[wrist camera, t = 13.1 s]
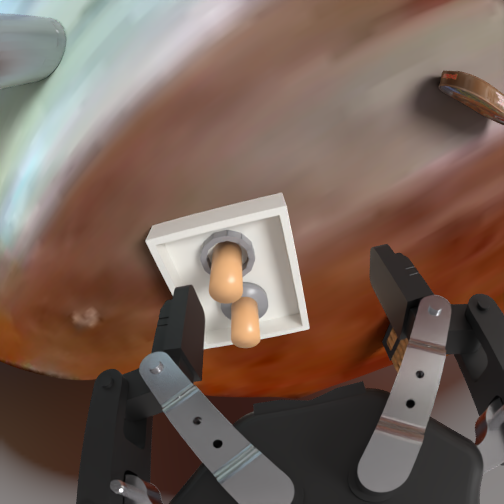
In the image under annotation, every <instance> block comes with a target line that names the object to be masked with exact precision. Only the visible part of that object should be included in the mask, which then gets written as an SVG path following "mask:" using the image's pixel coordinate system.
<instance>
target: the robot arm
mask: <svg viewBox="0 0 504 504" xmlns="http://www.w3.org/2000/svg"><path fill="white" fill-rule="evenodd" d="M65 45H66V36H65V31H64V28H63V26H62V25H61V24H60V23H59V22H58V21H57V20H55V19H52V18H45V17H37V16H29V15H18V14H1V13H0V90H1V89H5V88H9V87H13V86H17V85H22V84H27V83H32V82H37V81H40V80H43V79H44V78H46V77H48V76H49V75H50V74H51V73H52V72H53V71H54V70H55V68H56V67H57V66H58V64H59V62H60V61H61V59H62V56H63V54H64V50H65ZM370 281H371V285H372V287H373V289H374V291H375V293H376V295H377V297H378V299H379V301H380V303H381V305H382V307H383V309H384V311H385V313H386V315H387V317H388V319H389V321H390V323H391V325H392V327H393V329H394V331H395V333H396V335H397V337H398V340H399V341H400V340H403V339H406V338H407V339H408V341H409V342H408V345H407V348H406V351H405V354H404V357H403V360H402V363H401V366H400V369H399V372H398V375H397V377H396V380H395V383H394V385H393V388H392V391H391V393H389V392H387V391H384V390H380V389H372V388H365V387H364V383H363V382H359V383H355V384H351V385H347V386H343V387H339V388H336V389H334V390H332V391H330V392H328V393H325V394H324V395H321V396H319V397H317V398H315V399H313V400H309V401H300V400H298V401H297V400H277V401H270V402H263V403H257V404H253V405H254V411H253V412H251V413H249V414H247V415H245V416H243V417H241V418H240V419H238V421H236V422H235V423H234V424H233V425H232V424H231V423H230V422H229V421H228V420H227V419H226V418H225V417H224V416H223V415H222V414H221V413H220V412H219V411H218V410H217V409H216V408H215V407H214V406H213V405H212V403H211V402H210V401H209V400H208V399H207V398H206V397H205V396H204V395H203V394H202V392H201V391H200V390H199V389H198V388H197V387H196V386H195V385H193V382H195V381H202V366H203V349H204V334H205V314H204V310H203V307H202V305H201V303H200V301H199V298H198V296H197V294H196V291H195V289H194V287H193V285H186V286H180V287H176V288H175V289H174V294H173V299H172V300H167V301H166V302H165V304H164V305H163V307H162V308H161V310H160V315H159V320H158V324H157V328H156V333H155V338H154V343H153V348H152V353H151V354H149V355H148V356H146V357H145V358H144V359H143V361H142V362H141V364H140V368H138V369H136V370H134V371H131V372H129V373H126V374H123V375H122V374H121V373H120V372H119V371H118V370H115V369H109V370H106V371H104V372H102V373H101V374H100V375H99V376H98V377H97V379H96V381H95V384H94V388H93V393H92V398H91V402H90V407H89V413H88V419H87V424H86V429H85V435H84V442H83V448H82V455H81V463H80V471H79V479H78V490H77V502H76V504H163V503H162V500H161V494H160V492H159V490H158V489H157V487H156V486H154V485H153V484H151V483H150V464H151V439H152V421H153V415H155V414H158V413H161V412H164V413H165V414H166V416H167V417H168V419H169V420H170V421H171V423H172V424H173V425H174V426H175V428H176V429H177V431H178V432H179V433H180V435H181V436H182V437H183V438H184V440H185V441H186V442H187V444H188V445H189V446H190V447H191V449H192V450H193V451H194V452H195V454H196V455H197V456H198V457H199V458H200V460H201V461H202V462H203V463H202V464H201V465H200V466H199V468H198V469H197V470H196V471H195V473H194V474H193V475H192V476H191V477H190V479H189V480H188V481H187V483H186V484H185V485H184V486H183V487H182V488H181V490H180V491H179V492H178V493H177V494H176V496H175V497H174V498H173V499H172V500H171V501H170V503H169V504H480V499H479V497H480V486H481V481H482V476H483V474H484V473H486V472H487V471H489V470H491V469H493V468H495V467H496V466H498V465H504V315H503V313H502V312H501V310H500V309H499V307H498V306H497V304H496V303H495V301H494V300H493V299H492V298H491V297H489V296H487V295H484V294H476V295H473V296H472V297H471V298H470V300H469V302H468V304H456V305H453V304H450V303H449V302H448V301H447V300H446V299H445V298H443V297H441V296H438V295H434V294H433V292H432V291H431V289H430V288H429V286H428V285H427V283H426V282H425V280H424V279H423V278H422V276H421V275H420V274H419V273H418V271H417V269H416V268H414V265H413V264H412V262H411V261H410V260H409V258H407V257H406V256H404V255H403V254H401V253H396V254H395V253H394V252H393V251H392V249H391V248H390V246H389V245H388V244H385V245H380V246H376V247H372V248H371V251H370ZM446 354H454V356H455V358H456V360H457V362H458V364H459V367H460V369H461V371H462V374H463V376H464V378H465V381H466V383H467V385H468V388H469V390H470V393H471V395H472V398H473V400H474V403H475V405H476V408H477V411H478V414H479V418H478V419H477V421H476V424H475V435H476V441H475V443H473V442H472V441H471V440H469V439H468V438H466V437H464V436H462V435H461V434H459V433H457V432H456V431H454V430H452V429H450V428H448V427H447V426H445V425H443V424H442V423H440V422H438V421H437V420H435V419H433V418H432V417H430V414H431V411H432V407H433V404H434V400H435V397H436V394H437V390H438V386H439V382H440V378H441V374H442V370H443V366H444V361H445V357H446Z"/></svg>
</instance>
